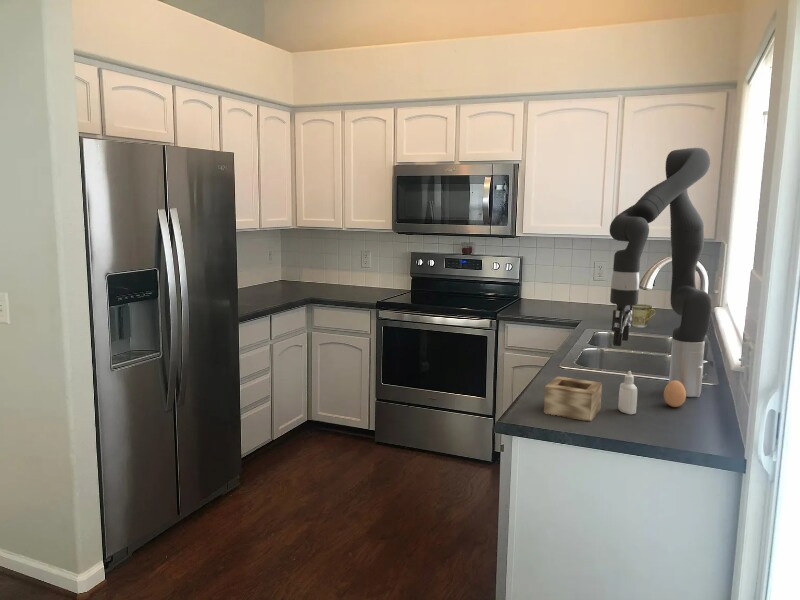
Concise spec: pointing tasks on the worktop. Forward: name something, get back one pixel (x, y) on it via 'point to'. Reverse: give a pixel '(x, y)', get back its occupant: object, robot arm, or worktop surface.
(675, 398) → the egg
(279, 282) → the worktop surface
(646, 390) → the worktop surface
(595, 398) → the box
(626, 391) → the eye dropper bottle
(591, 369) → the worktop surface
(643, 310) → the ceramic cup
